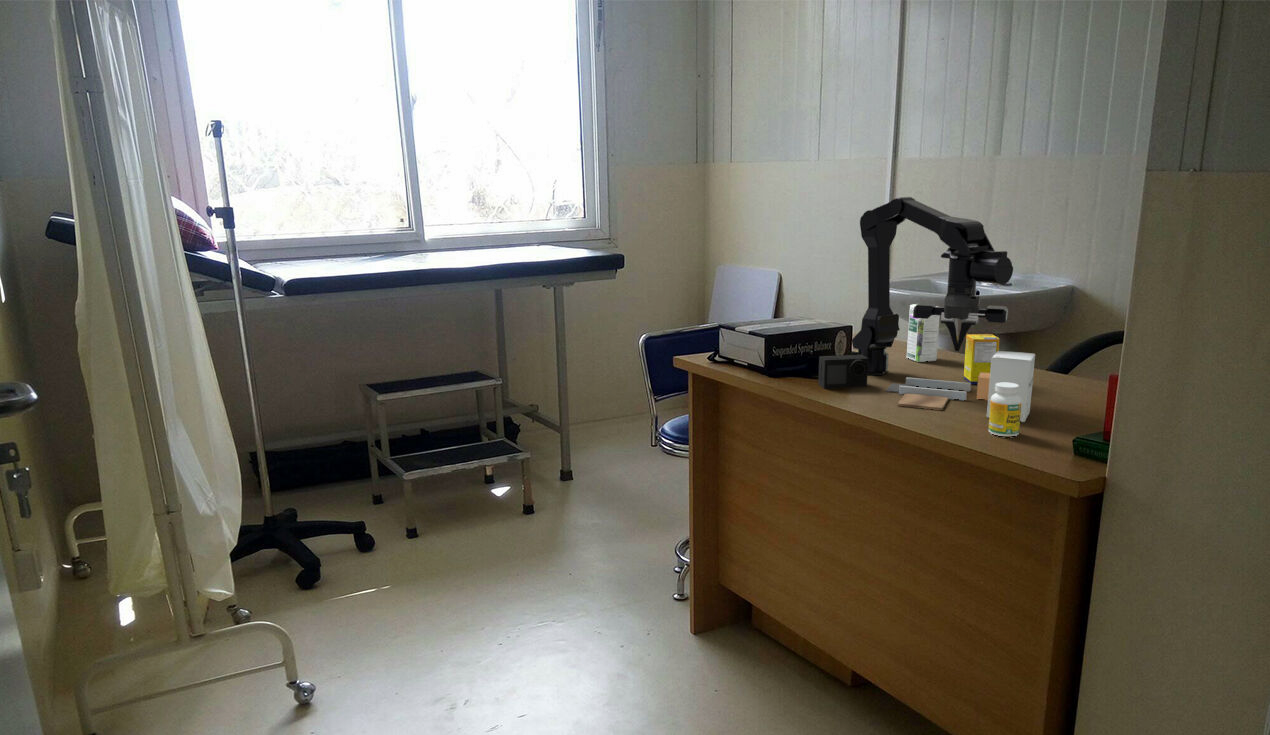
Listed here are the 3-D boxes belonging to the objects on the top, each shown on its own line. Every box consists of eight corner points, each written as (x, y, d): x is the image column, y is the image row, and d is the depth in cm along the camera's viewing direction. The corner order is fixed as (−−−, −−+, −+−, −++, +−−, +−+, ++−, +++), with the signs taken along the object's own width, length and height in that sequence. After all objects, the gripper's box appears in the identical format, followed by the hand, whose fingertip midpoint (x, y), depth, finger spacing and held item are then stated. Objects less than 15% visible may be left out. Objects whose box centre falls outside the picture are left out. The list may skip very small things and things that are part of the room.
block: (976, 399, 179) (978, 377, 178) (978, 394, 183) (980, 372, 182) (1001, 402, 177) (1003, 379, 176) (1003, 396, 181) (1005, 374, 180)
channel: (898, 394, 184) (899, 386, 184) (906, 384, 192) (906, 377, 192) (965, 400, 178) (966, 392, 178) (970, 390, 186) (970, 382, 186)
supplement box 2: (1025, 423, 162) (1031, 360, 159) (985, 418, 166) (990, 356, 163) (1030, 413, 168) (1036, 353, 165) (991, 408, 172) (996, 349, 169)
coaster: (897, 406, 175) (897, 403, 175) (905, 395, 183) (905, 393, 183) (942, 410, 171) (942, 407, 171) (947, 400, 179) (948, 397, 179)
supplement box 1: (988, 378, 196) (992, 333, 194) (996, 385, 190) (1000, 338, 188) (962, 378, 197) (965, 333, 194) (970, 384, 191) (973, 338, 189)
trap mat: (886, 391, 187) (886, 390, 187) (892, 384, 193) (892, 383, 193) (908, 393, 184) (909, 392, 184) (914, 386, 191) (914, 385, 190)
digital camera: (825, 390, 189) (826, 360, 188) (817, 384, 195) (818, 355, 193) (869, 388, 190) (870, 359, 189) (860, 382, 195) (861, 354, 194)
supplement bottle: (1000, 427, 159) (1004, 379, 157) (1025, 435, 155) (1029, 385, 152) (981, 432, 157) (985, 383, 154) (1006, 440, 152) (1010, 389, 150)
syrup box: (905, 358, 219) (908, 304, 216) (925, 356, 221) (928, 302, 217) (917, 362, 214) (920, 307, 211) (937, 361, 215) (941, 306, 212)
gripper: (910, 283, 175) (906, 355, 178) (1006, 286, 166) (1000, 362, 170) (919, 277, 184) (915, 345, 188) (1010, 280, 176) (1004, 351, 179)
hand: (957, 351), depth 181 cm, fingers closed
